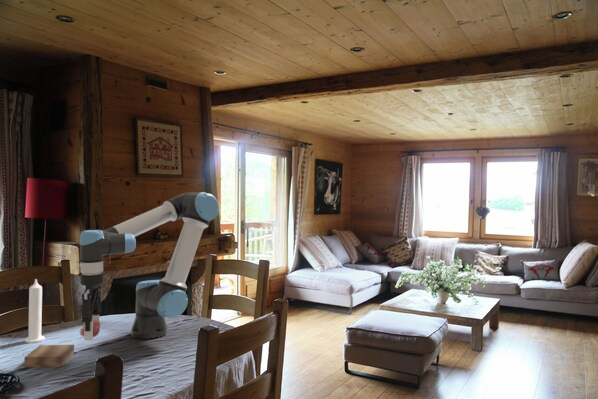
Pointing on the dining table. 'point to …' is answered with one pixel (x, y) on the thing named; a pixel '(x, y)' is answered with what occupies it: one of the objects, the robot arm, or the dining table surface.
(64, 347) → the walnut base
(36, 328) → the candle
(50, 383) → the dining table surface
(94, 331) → the flower
